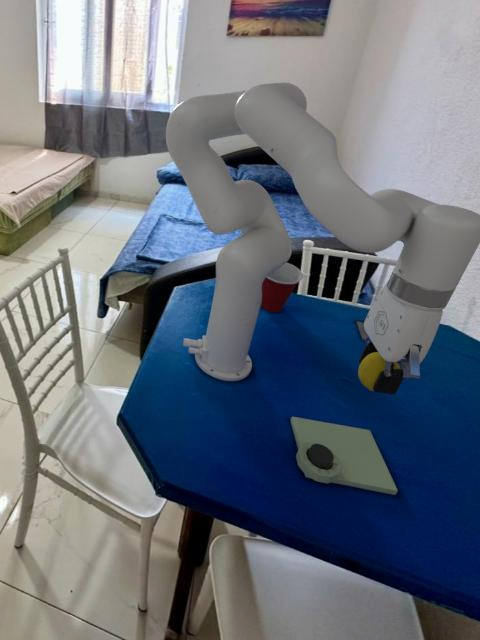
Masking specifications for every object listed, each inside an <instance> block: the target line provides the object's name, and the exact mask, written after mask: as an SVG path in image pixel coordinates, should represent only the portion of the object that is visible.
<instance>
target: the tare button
mask: <svg viewBox="0 0 480 640" xmlns="http://www.w3.org/2000/svg"><path fill="white" fill-rule="evenodd" d="M308 459H309V461H310V462H311V463H312V464H313V465H314V466H316V467H317V468H320V469H328V468H330V466H331V464H332V462H333V460H334V456H333V453H332V452H331V451H330V449H328V448H327V447H326V446H324V445H321V444H313V445H312V446H311V448H310V450H309V452H308Z"/></svg>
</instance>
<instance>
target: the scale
mask: <svg viewBox="0 0 480 640" xmlns="http://www.w3.org/2000/svg"><path fill="white" fill-rule="evenodd" d="M290 424H291V428H292V431H293V432H292V433H293V435H294V439H295V442H296V448H297V452H296V455H295V459H296V463H297V466H298V468H299V469H300V470H301V471H302V473H304V477H305V478H306V479H307V478H308V479H311V480H313V481H315V482H319V483H322V484H327V485H328V484H330V483H332V484H337V485H343V486H347V487H352V488H356V489H357V488H358V489H362V490H368V491H374V492H378V493H382V494H389V495H392V496H393V495H394V496H396V495H397V493H398V487H397V485H396V484H395V482H394V479H393V477H392V475H391V473H390V471H389V469H388V466H387V464H386V462H385V459H384V458H383V456H382V453H381V451H380V448H379V447H378V445H377V443H376V441H375V439H374V435H373V434H372V432H371V430H370V429H367V428H366V429H365V428H360V427H353V426H348V425H342V424H338V423H337V424H336V423H330V422H324V421H319V420H313V419H309V418H302V417H296V416H291V417H290ZM313 444H321V445H324V446H326V447H327V448H328V449H330V451H331V452H332V453H333V456H334V460H333V462H332V464H331V466H330V468H328V469H320V468H317V467H316V466H314V465H313V464H312V463H311V462H310V461H309V459H308V452H309V450H310V448H311V446H312V445H313Z"/></svg>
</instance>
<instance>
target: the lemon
mask: <svg viewBox="0 0 480 640" xmlns="http://www.w3.org/2000/svg"><path fill="white" fill-rule="evenodd" d="M385 366H386V361H385V360H384V359H383V358H382V356H381V355H380V354H379V352H374V353H371V354H369V355H367V356H366V357H365V358H364V359H363V360H362V362H361V364H359V366H358V371H357V374H358V379H359V381H360V383H361V384H362V385H363V386H364V387H365V388H366V389H368V391H370V392H375V391H374V390H373V386H374V384H375V382H376V380H377V378H378V376H379V374H380V372H381V371H385ZM393 369H401V366H400V363H395V362H394V368H393Z"/></svg>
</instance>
